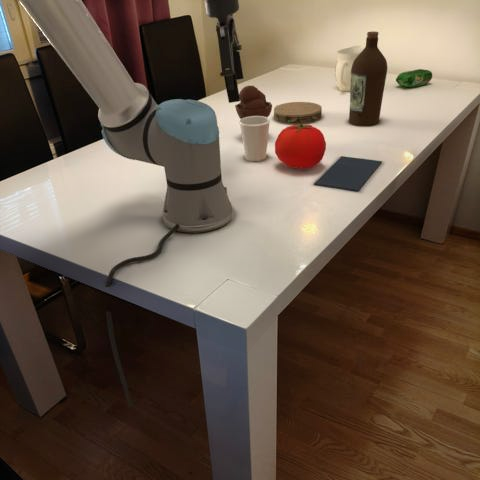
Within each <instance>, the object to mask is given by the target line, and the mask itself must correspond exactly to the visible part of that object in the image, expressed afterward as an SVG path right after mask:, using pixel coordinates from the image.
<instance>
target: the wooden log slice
mask: <svg viewBox="0 0 480 480" xmlns="http://www.w3.org/2000/svg"><path fill="white" fill-rule="evenodd" d="M322 107H323V106H322V105H320V104H319V103H315V102H310V101H292V102H285V103H280V104H278V105H276V106H274V107H273V120H274V121H275V122H277V123H279V124H283V125H290V126H292V125H299V124H303V125H310V124H313V123H317V122H318V121H320V120H321V119H322V111H323V110H322V109H323V108H322Z"/></svg>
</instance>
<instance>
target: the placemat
mask: <svg viewBox="0 0 480 480" xmlns="http://www.w3.org/2000/svg"><path fill="white" fill-rule="evenodd" d="M382 162H383V161H382V160H374V159H369V158H368V159H367V158H359V157H351V156H350V157H349V156H343V155H342V156H340V157H339V158H338V159H337V160H336V161H335V162H334V163H333V164H332V165H331V166H330V167H328V169H327V170H326V171H325V172H323V174H322V175H321V176H320V177H319V178H318V179H317V180H316V181H314V183H313V184H314V186H320V187H325V188H326V187H327V188H332V189H337V190H338V189H339V190H345V191H351V192H360V190H361V189H362V188H363V187H364V185H365V184H366V183H367V182H368V180H369V179H370V178H371V176H372V175H373V174H374V173H375V172H376V171H377V169H379V166H380V165H381V164H382Z"/></svg>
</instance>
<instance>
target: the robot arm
mask: <svg viewBox="0 0 480 480" xmlns="http://www.w3.org/2000/svg"><path fill="white" fill-rule="evenodd" d="M203 1H204V7H205V12H206V15H207V16H208V17H209V18H210V19H211V18H212V19H214V18H215V19H217V22H216V25H215V32H216V35H217V42H218V50H219V51H218V52H219V58H220V59H219V60H220V66H221V67H220V68H221V72H219V75H220V76H219V77H223V78H224V83H225V89H226V94H227V101H228V103H229V104H232V103H238V102H239V103H240V97H239V93H240V91H239V85H238V80H243V79H244V73H243V72H244V71H243V66H242V60H241V54H240V51H242V50H243V48H242V44H240V41H239V37H238V33H237V28H236V24H235V23H236V21H235V19H234V14H235V13H237V12H238V11H239V10H240V3H239V0H203ZM18 2H19V3H20V5H21V7H23V9H25V11H26V13H27V14H28V15H29V16H30V18H31V19H32V20H33V22H34V23H35V25H36V26H37V27H38V29H39V31H41V33H42V34H43V36H45V38H46V39H47V41H48V42H49V43H50V45H51V46H52V48H54V50H55V52H57V54H58V56H59V57H60V58H61V59H62V61H63V62H64V63H65V65H66V67H67V68H68V69H69V70H70V71H71V73H72V74H73V75H74V77H75V78H76V80H78V82H79V84H81V86H82V87H83V89H84V90H85V91H86V92H87V94H88V95H89V97H90V98H91V99H92V101H93V102H94V103H95V105H96V106H97V107H98V114H97V117H98V120H99V122H100V127H101V128H102V130H101V135H102V139H103V140H104V142H105V144H106V145H107V147H108V148H109V149H110V150H111V151H112V152H114V153H115V154H117V155H118V156H121V157H123V158H125V159H127V160H128V159H129V160H131V161H138V162H143V163H146V164H151V165H155V166H159V167H163V168H164V174H165V181H166V190H165V196H164V203H163V209H162V218H163V222H164V225H165V226H166V227H167V228H169V229H170V230H169V231H168V232H167V233H166V234H165V235H163V237H162V238H161V239H160V240H159V242H158V244H157V248H156V249H155V251H153V252H152V253H149V254H147V255H141V256H134V257H130V258H127V259H124V260H122V261H120V262H119V263H117V264H115V265H114V266H113V267H111V269H110V271H109V273H108V276H107V278H106V282H105V286H104V287H105V288H110V286H111V285H112V281H113V278H114V276H115V274H116V272H117V271H118V270H119V269H121V268H123V267H125V266H126V265H129V264H132V263H136V262H143V261H148V260H151V259H153V258H156V257H157V256H158V255H159V254H160V253H161V252H162V249H163V245H164V243H165V242H166V241H167V240H168V239H169V238H170V237H171V236H172V235H173V234H174V233H175V232H180V233H186V234H187V233H188V234H199V233H206V232H211V231H214V230H217V229H220V228H222V227H224V226H225V225H227V224H228V223H229V222H231V220H232V219H233V217H234V214H233V205H232V202H231V201H230V198H229V195H228V187H226V186H225V185H224V183H223V176H222V160H221V148H220V147H221V145H220V130H219V129H220V127H219V126H218V119H217V114H216V112H215V110H214V109H213V108H212V107H211V106H210V105H208V104H207V103H205V102H202V101H199V100H195V99H183V98H182V99H181V98H175V99H169V100H165V101H163V102H161V103H160V104H157V102H156V101H155V99H154V98H153V96H152V94H151V92H150V91H149V90H148V88H147V87H146V85H144V84H142V83H139V82H134V80H133V79H132V77H131V75H130V74H129V72H128V70H127V69H126V67H125V66H124V64H123V63H122V61H121V59H119V57H118V55H117V54H116V52H115V50H114V49H113V47H112V46H111V44H110V43H109V41H108V40H107V38H106V36H105V35H104V33H103V31H102V29H101V28H100V27H99V26H98V24H97V22H96V20H95V19H94V18H93V16H92V15H91V13H90V11H89V10H88V8H87V7H86V4H84V2H83V1H82V0H18ZM105 314H106V324H107V329H108V336H109V341H110V345H111V349H112V353H113V358H114V361H115V364H116V368H117V371H118V375H119V378H120V381H121V384H122V387H123V391H124V395H125V398H126V402H127V406H128V408H131V407H133V401H132V398H131V395H130V394H131V393H130V390H129V386H128V384H127V381H126V377H125V373H124V370H123V366H122V364H121V360H120V356H119V353H118V348H117V344H116V338H115V333H114V328H113V327H114V326H113V320H112V318H113V317H112V312H111V311H108V310H105Z"/></svg>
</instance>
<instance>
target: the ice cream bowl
mask: <svg viewBox="0 0 480 480" xmlns="http://www.w3.org/2000/svg"><path fill="white" fill-rule="evenodd" d="M239 97H240V101H239V103H237V104H235V105H234V107H235V111H236V113H237V116H238V118H239V119H240V120H241V119H242V118H245V117H250V116H264V117H267V118H269V117H270V116H271V113H272V109H273V104H272V102H271V101H267V99H266V97H267V96H266V95H265V93H263V92H262V91H261V90H259V88H257V87H256V86H254V85H245V86H243V88H242V89H241V90H240V91H239Z"/></svg>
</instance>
